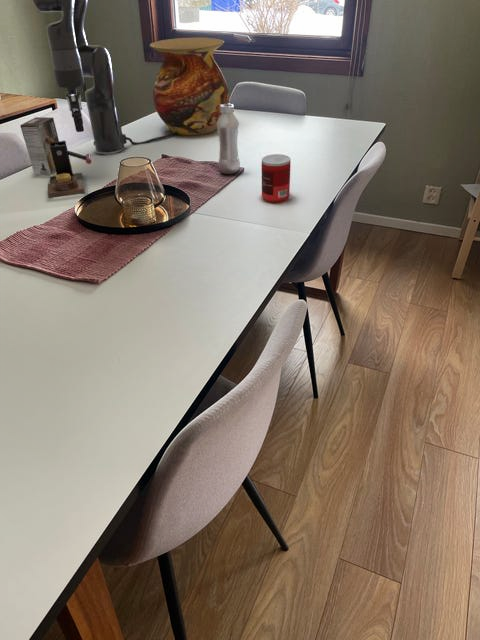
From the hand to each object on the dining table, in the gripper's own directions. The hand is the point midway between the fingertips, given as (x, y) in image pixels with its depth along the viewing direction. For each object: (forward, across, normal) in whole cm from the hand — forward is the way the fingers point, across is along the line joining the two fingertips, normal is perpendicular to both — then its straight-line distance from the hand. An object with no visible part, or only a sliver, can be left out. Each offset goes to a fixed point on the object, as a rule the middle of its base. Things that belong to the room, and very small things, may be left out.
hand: (79, 127), depth 147 cm
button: (+12, -10, +7) cm, 17 cm away
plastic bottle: (+15, -10, -42) cm, 46 cm away
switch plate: (+15, -10, +7) cm, 20 cm away
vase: (+15, +42, -42) cm, 61 cm away
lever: (+8, -1, +4) cm, 9 cm away
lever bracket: (+15, -1, +7) cm, 17 cm away
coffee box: (+15, +10, +12) cm, 22 cm away
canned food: (+15, -34, -49) cm, 62 cm away
